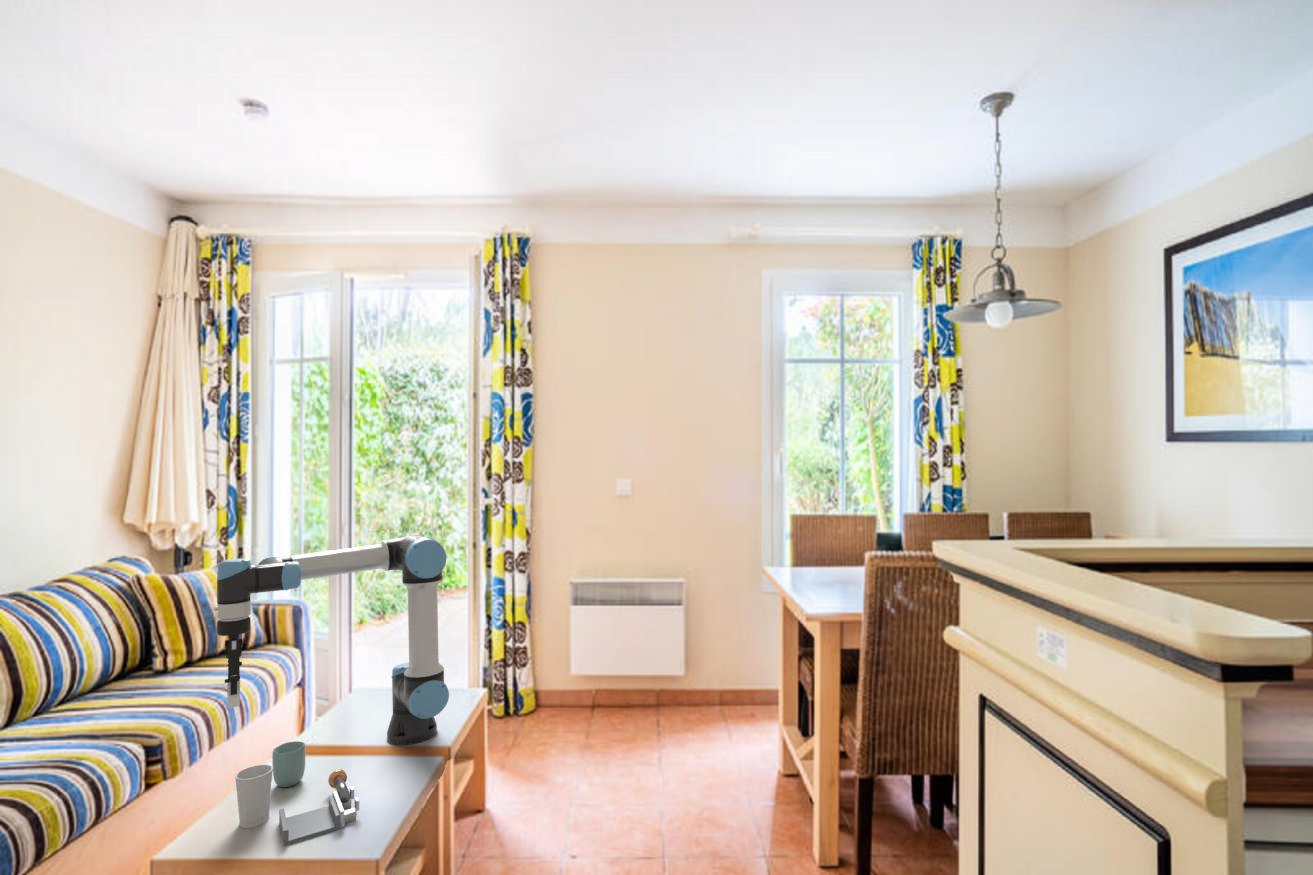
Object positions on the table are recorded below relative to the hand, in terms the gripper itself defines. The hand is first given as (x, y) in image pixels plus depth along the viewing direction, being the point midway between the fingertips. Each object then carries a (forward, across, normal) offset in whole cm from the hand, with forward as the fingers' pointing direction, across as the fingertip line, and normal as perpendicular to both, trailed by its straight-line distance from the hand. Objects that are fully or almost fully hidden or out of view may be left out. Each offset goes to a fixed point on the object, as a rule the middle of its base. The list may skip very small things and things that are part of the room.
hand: (233, 699), depth 175 cm
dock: (+26, +26, +16) cm, 40 cm away
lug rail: (+26, +25, +24) cm, 44 cm away
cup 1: (+27, +15, +4) cm, 31 cm away
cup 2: (+27, -2, +13) cm, 30 cm away
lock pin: (+25, +17, +24) cm, 38 cm away
